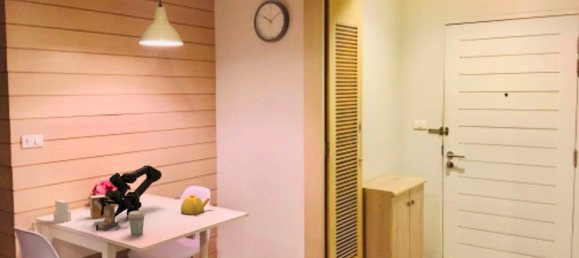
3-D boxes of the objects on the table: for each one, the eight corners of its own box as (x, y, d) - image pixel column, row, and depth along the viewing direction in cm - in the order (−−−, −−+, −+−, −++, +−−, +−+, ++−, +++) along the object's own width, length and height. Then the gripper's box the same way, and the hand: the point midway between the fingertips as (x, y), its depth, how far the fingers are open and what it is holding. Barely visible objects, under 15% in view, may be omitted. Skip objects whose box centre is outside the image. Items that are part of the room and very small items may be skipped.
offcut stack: (103, 228, 260) (103, 222, 259) (108, 229, 258) (108, 222, 258) (98, 230, 256) (97, 224, 256) (103, 231, 255) (102, 224, 254)
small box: (92, 219, 277) (91, 197, 276) (90, 217, 282) (89, 195, 281) (106, 217, 281) (106, 196, 280) (104, 215, 287) (103, 194, 286)
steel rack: (110, 224, 266) (109, 220, 266) (118, 225, 264) (118, 221, 264) (95, 230, 256) (95, 225, 256) (104, 231, 254) (104, 226, 254)
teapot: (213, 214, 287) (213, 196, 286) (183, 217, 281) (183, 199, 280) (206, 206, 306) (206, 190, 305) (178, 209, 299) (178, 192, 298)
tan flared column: (110, 225, 265) (109, 204, 264) (115, 226, 264) (114, 205, 262) (104, 227, 261) (103, 206, 260) (109, 228, 259) (108, 207, 258)
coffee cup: (138, 237, 243) (137, 215, 242) (125, 236, 246) (124, 213, 245) (148, 233, 251) (148, 211, 249) (135, 231, 254) (135, 209, 253)
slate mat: (106, 221, 273) (106, 220, 273) (107, 224, 267) (107, 223, 267) (93, 222, 271) (93, 221, 271) (94, 225, 264) (94, 224, 264)
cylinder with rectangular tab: (74, 220, 275) (73, 200, 274) (59, 224, 268) (58, 203, 267) (65, 218, 280) (64, 198, 279) (50, 221, 273) (49, 201, 272)
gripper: (100, 183, 267) (86, 207, 258) (126, 185, 260) (113, 209, 251) (110, 194, 275) (97, 217, 266) (136, 196, 269) (124, 220, 259)
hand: (107, 215), depth 260 cm, fingers open, 9 cm apart
